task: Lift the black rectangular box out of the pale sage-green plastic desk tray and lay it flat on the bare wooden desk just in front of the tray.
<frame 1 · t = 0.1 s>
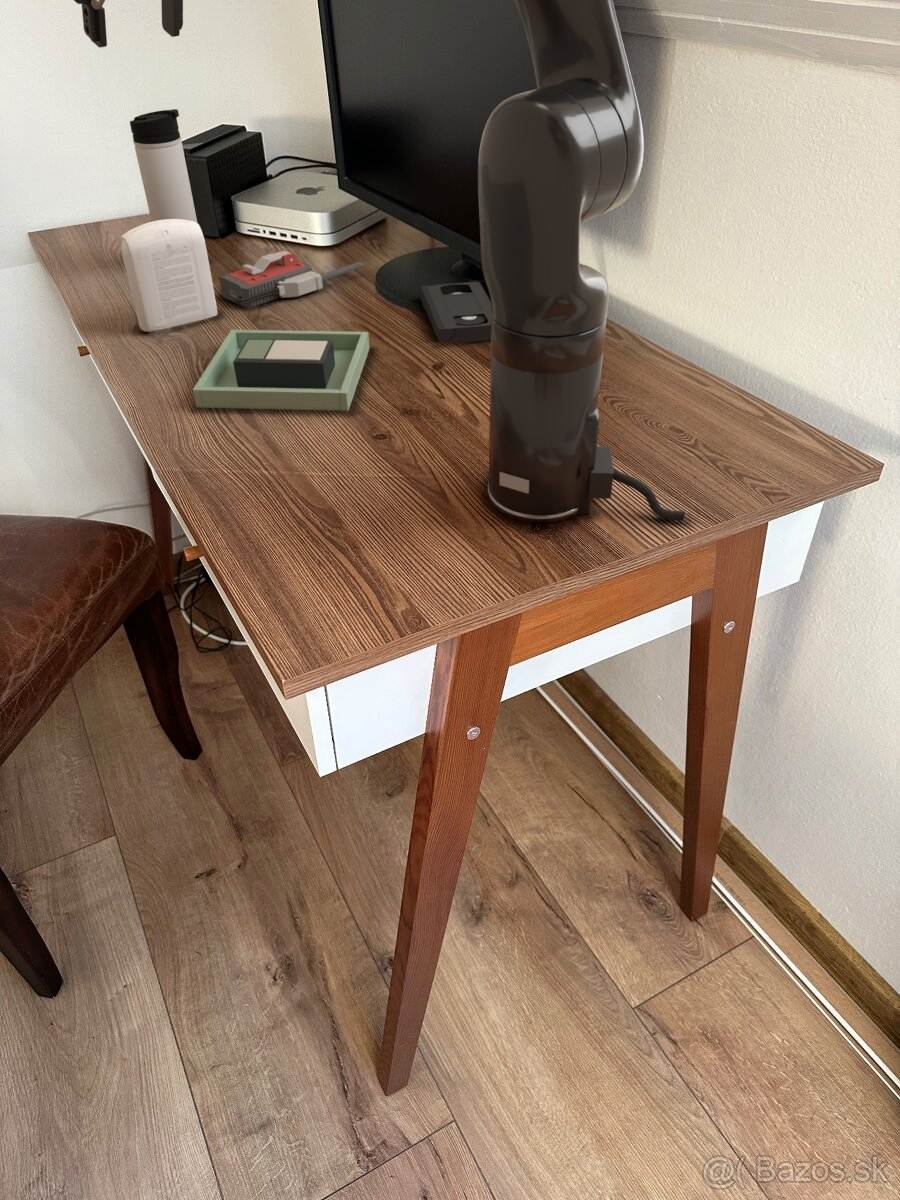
hand: (135, 38, 92), 31 cm above the table, tool tilted 20°, fingers open, 8 cm apart
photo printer: (180, 323, 114), on the table
black rectangular box: (287, 375, 101), resting on tray
vhs tape: (460, 320, 113), on the table
tray: (287, 378, 101), on the table
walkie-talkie: (291, 288, 122), on the table
travel mug: (184, 264, 131), on the table
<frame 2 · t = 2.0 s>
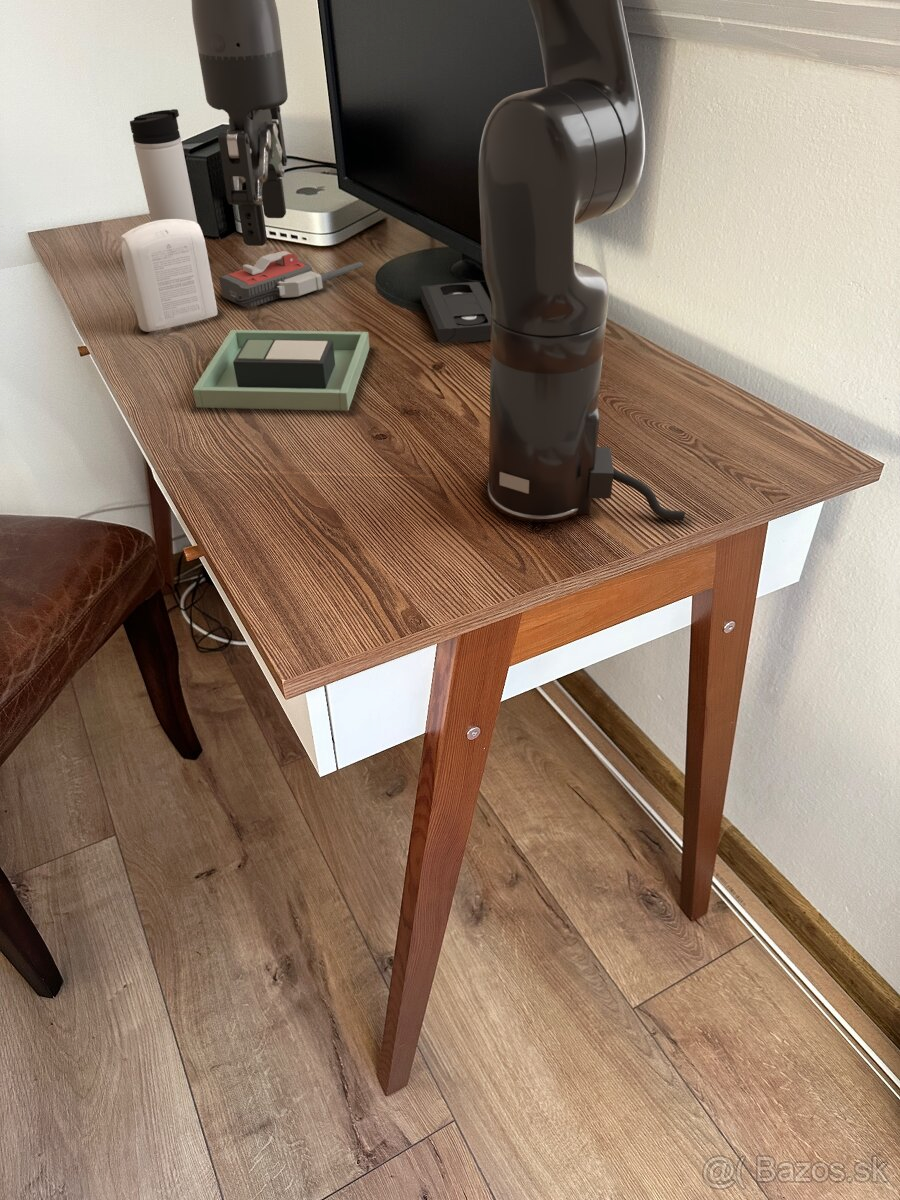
hand: (266, 230, 91), 16 cm above the table, tool pointing down, fingers open, 8 cm apart
nothing on the table moved.
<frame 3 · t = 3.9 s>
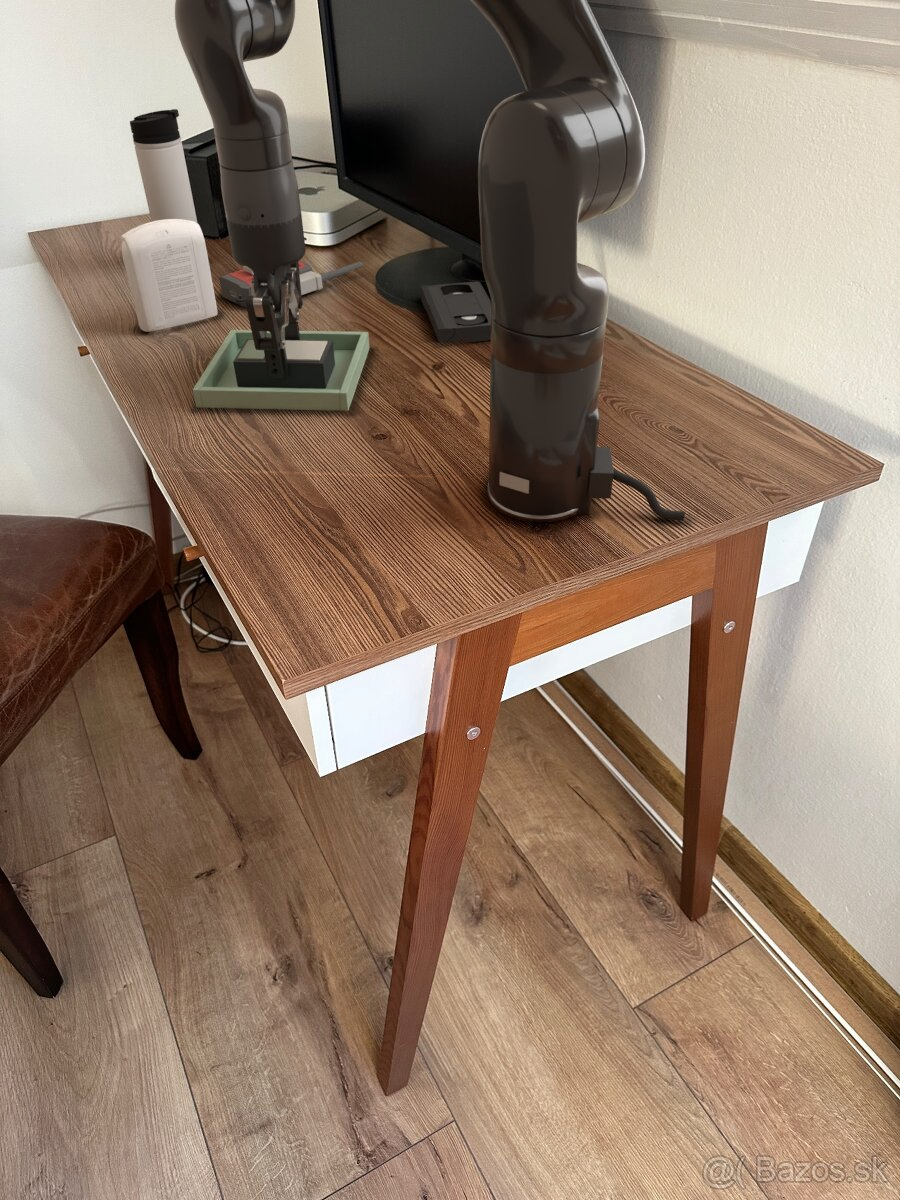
hand: (285, 365, 100), 2 cm above the table, tool pointing down, fingers closed on black rectangular box, 6 cm apart
black rectangular box: (287, 375, 101), resting on tray, touching gripper
everything else where it was.
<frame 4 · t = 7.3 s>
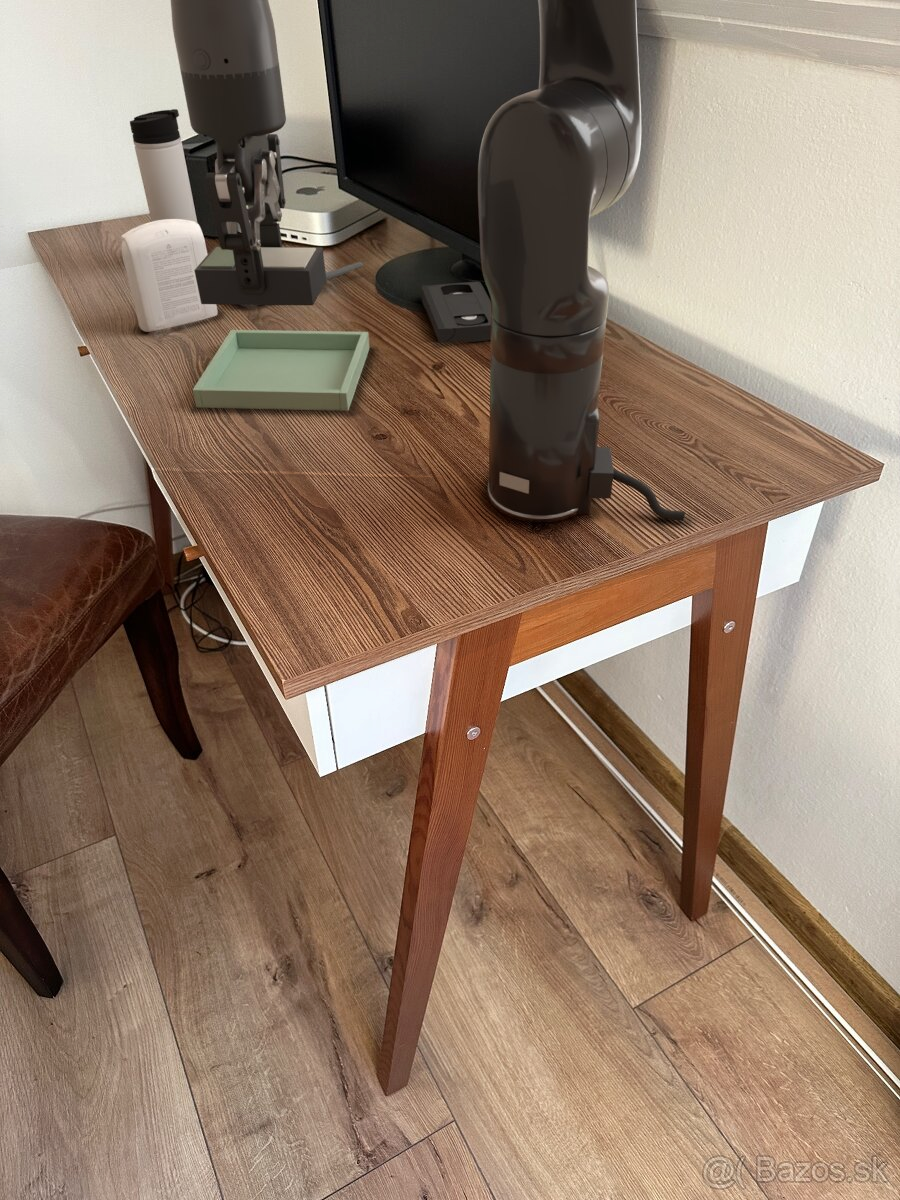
hand: (263, 278, 79), 17 cm above the table, tool pointing down, fingers closed on black rectangular box, 6 cm apart
black rectangular box: (265, 292, 80), point 16 cm above the table, touching gripper
everything else where it was.
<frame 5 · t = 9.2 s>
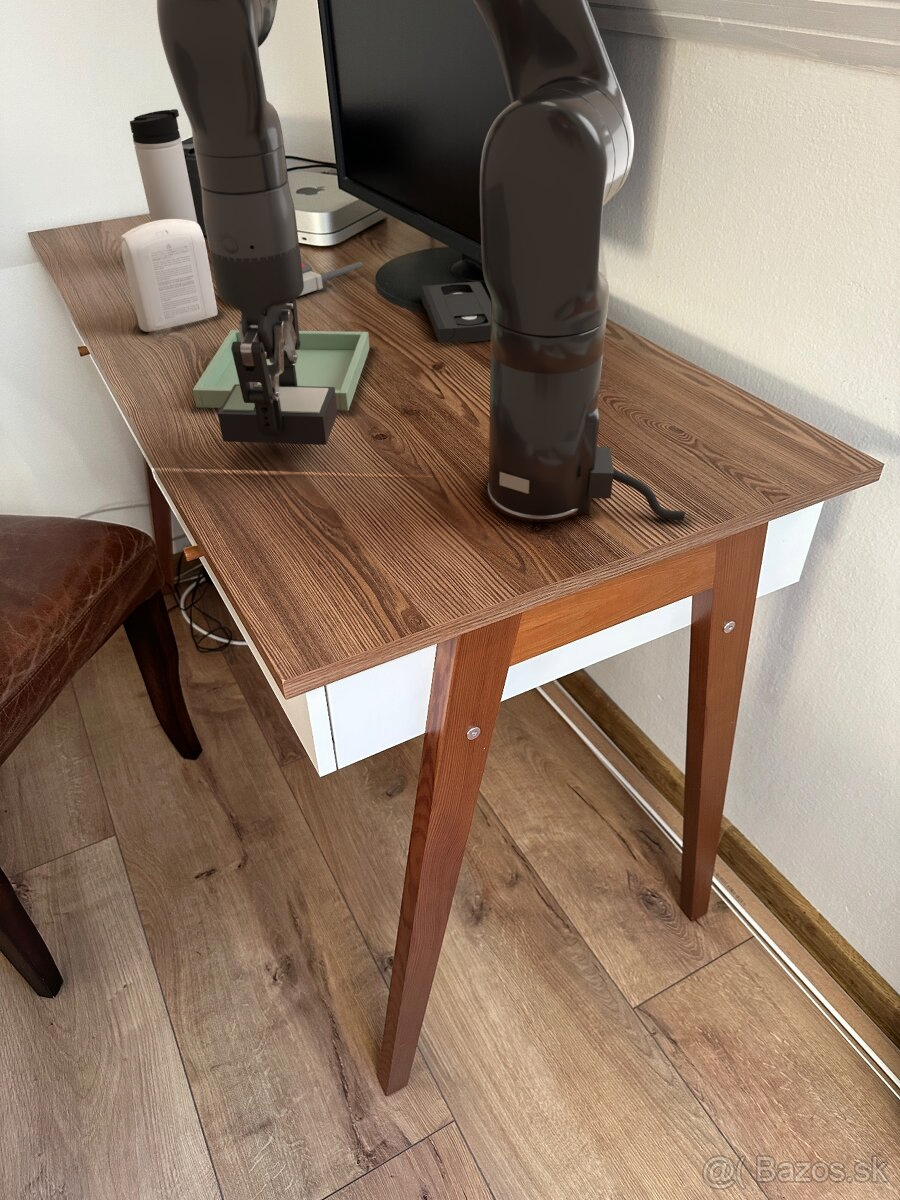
hand: (280, 416, 86), 4 cm above the table, tool pointing down, fingers closed on black rectangular box, 6 cm apart
black rectangular box: (281, 427, 86), point 3 cm above the table, touching gripper
everything else where it was.
when the fingers open (1 cm above the table, at t = 10.6 s): black rectangular box stays where it is, on the table.
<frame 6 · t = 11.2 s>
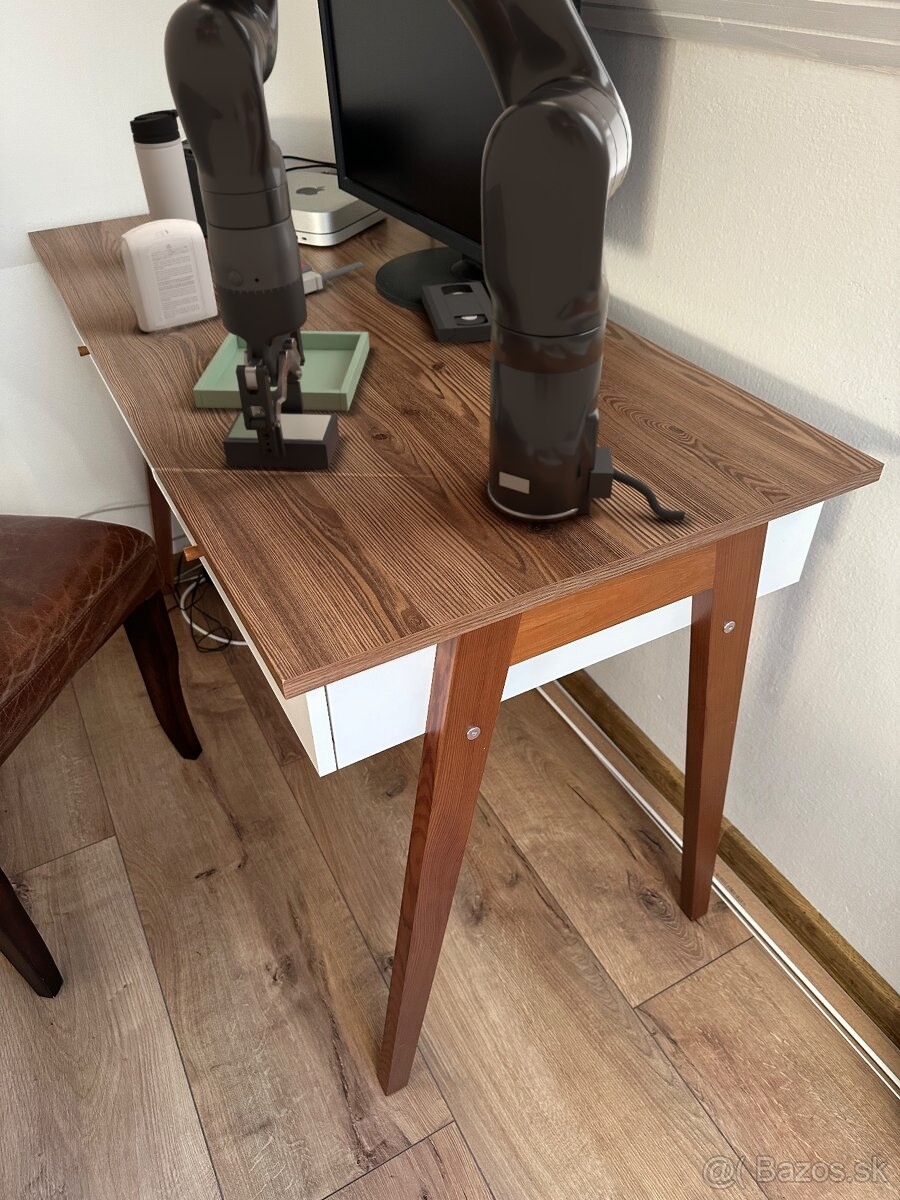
hand: (284, 436, 87), 2 cm above the table, tool pointing down, fingers open, 8 cm apart
black rectangular box: (285, 454, 88), on the table
everything else where it was.
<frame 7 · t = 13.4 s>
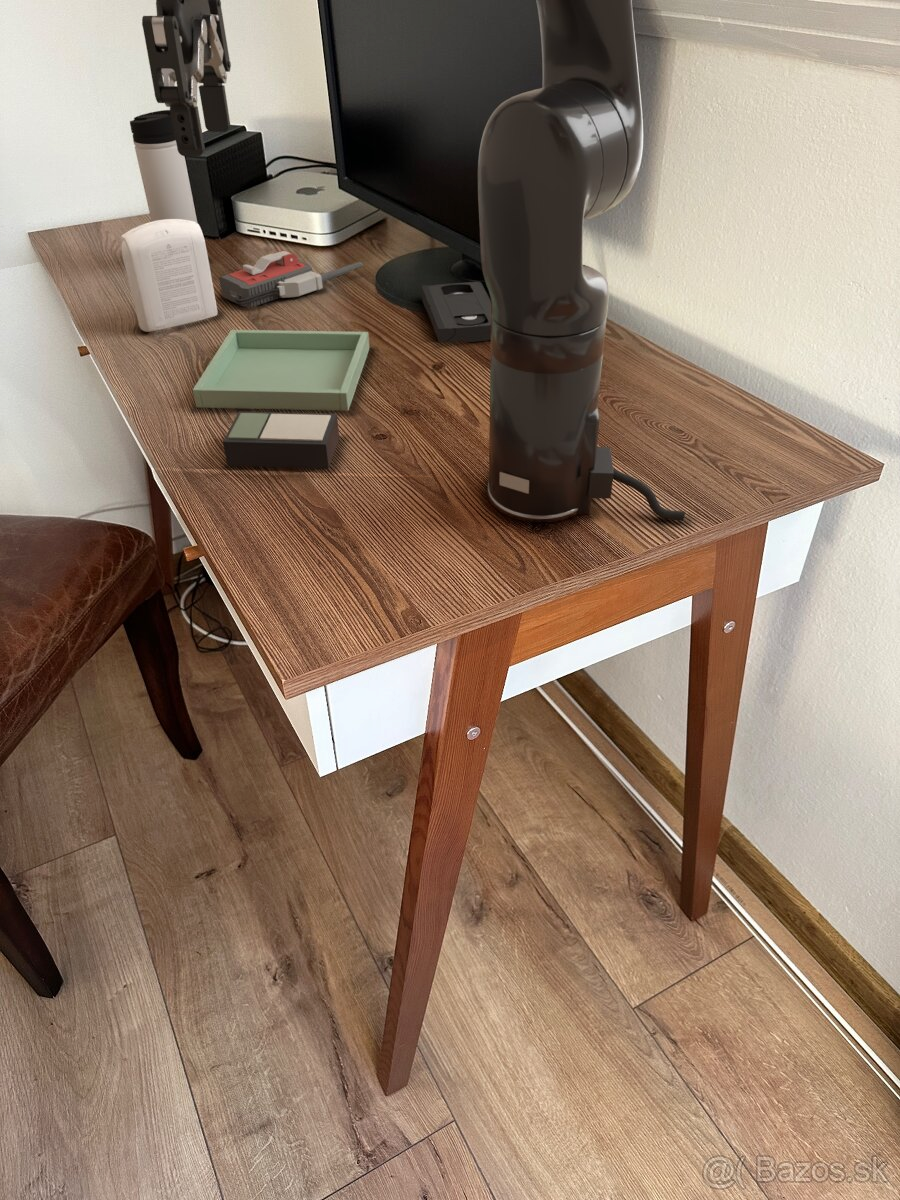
hand: (206, 142, 80), 26 cm above the table, tool pointing down, fingers open, 8 cm apart
nothing on the table moved.
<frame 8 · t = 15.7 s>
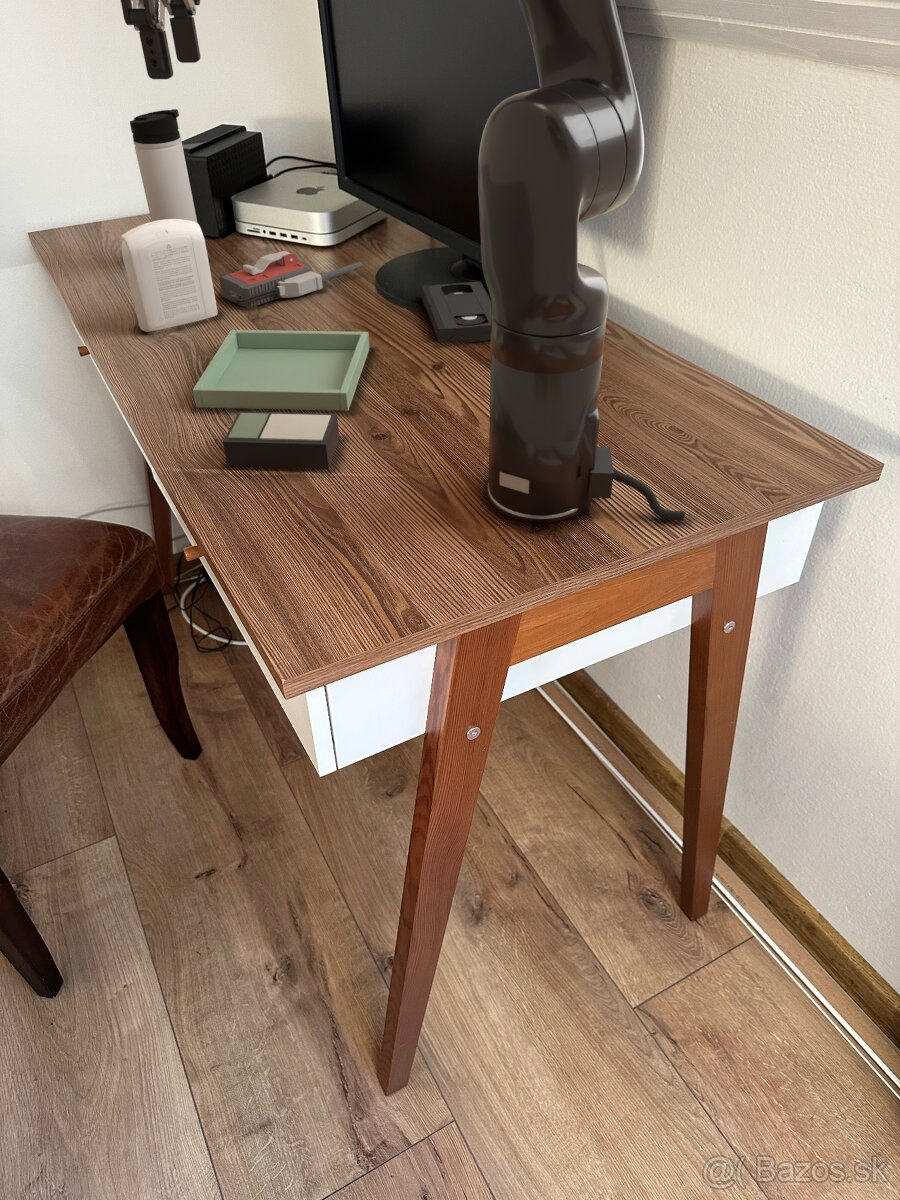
hand: (176, 70, 85), 30 cm above the table, tool pointing down, fingers open, 8 cm apart
nothing on the table moved.
at the end: black rectangular box inside the target area (0.2 cm from its centre), on the table; black rectangular box touching table; black rectangular box tilted 0° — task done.
